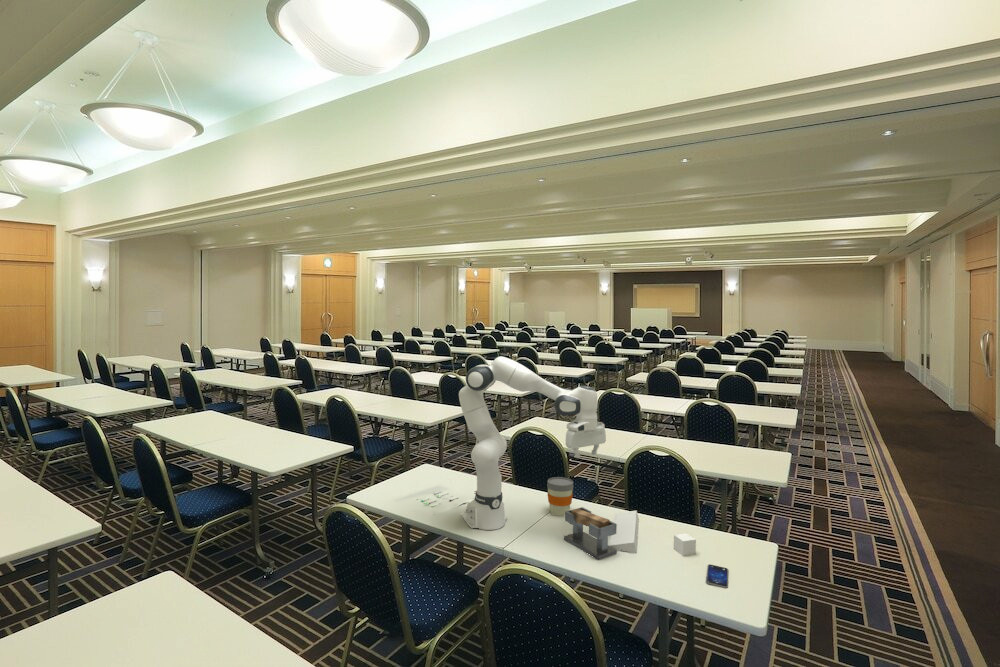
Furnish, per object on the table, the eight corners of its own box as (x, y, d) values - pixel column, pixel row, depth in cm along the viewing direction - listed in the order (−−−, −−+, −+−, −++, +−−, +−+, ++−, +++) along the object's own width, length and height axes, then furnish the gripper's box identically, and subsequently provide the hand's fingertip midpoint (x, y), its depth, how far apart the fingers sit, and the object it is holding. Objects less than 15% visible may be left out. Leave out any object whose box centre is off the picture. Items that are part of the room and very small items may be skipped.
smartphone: (728, 568, 193) (728, 587, 179) (728, 570, 193) (728, 590, 179) (707, 563, 196) (705, 582, 182) (707, 565, 196) (705, 584, 182)
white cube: (685, 547, 210) (686, 533, 210) (695, 554, 205) (696, 539, 204) (673, 549, 209) (673, 534, 208) (682, 556, 203) (683, 541, 203)
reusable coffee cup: (559, 505, 254) (560, 475, 253) (578, 513, 244) (579, 482, 243) (541, 510, 246) (541, 480, 245) (559, 519, 236) (560, 487, 235)
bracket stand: (563, 539, 216) (564, 511, 215) (581, 534, 221) (582, 506, 221) (598, 560, 199) (598, 529, 198) (616, 553, 204) (617, 524, 203)
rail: (571, 520, 214) (571, 510, 214) (577, 517, 217) (577, 508, 216) (603, 532, 202) (603, 522, 202) (609, 529, 205) (609, 519, 205)
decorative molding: (612, 557, 207) (637, 554, 204) (609, 545, 207) (634, 542, 205) (617, 523, 240) (639, 520, 237) (615, 513, 240) (636, 510, 237)
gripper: (599, 420, 227) (598, 450, 228) (563, 425, 216) (562, 457, 217) (609, 422, 222) (608, 454, 223) (573, 428, 211) (572, 461, 212)
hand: (585, 455), depth 220 cm, fingers open, 8 cm apart
